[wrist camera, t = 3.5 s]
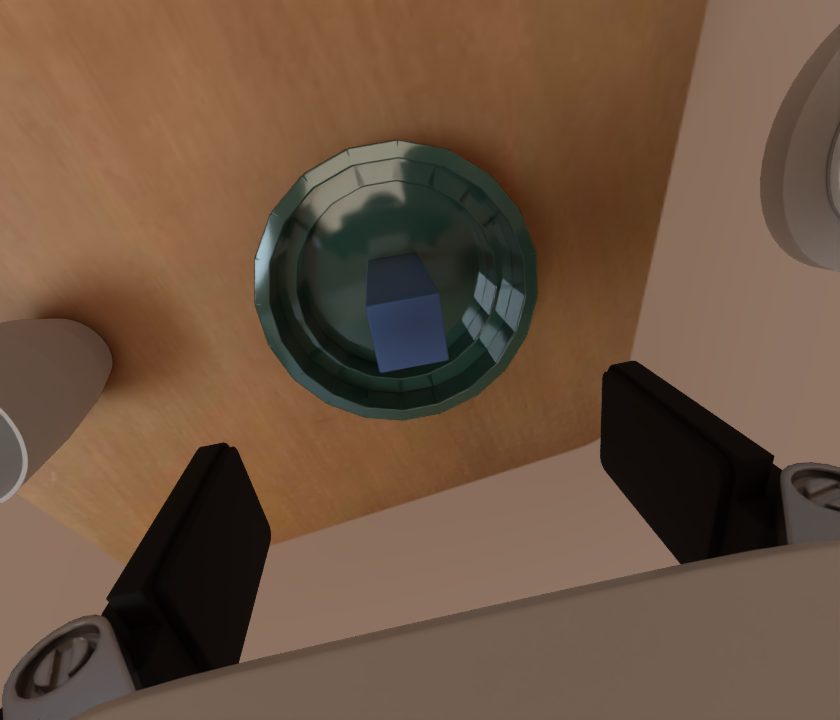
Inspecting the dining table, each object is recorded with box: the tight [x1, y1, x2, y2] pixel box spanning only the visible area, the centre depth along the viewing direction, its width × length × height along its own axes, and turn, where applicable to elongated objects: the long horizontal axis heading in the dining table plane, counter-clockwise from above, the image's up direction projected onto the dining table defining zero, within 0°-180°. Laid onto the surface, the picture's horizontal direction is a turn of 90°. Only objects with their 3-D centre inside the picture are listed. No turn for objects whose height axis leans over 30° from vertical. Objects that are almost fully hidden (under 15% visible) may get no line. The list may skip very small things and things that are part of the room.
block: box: [365, 253, 449, 373], centre depth 23 cm, size 3×3×10 cm
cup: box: [0, 318, 112, 503], centre depth 23 cm, size 8×8×10 cm
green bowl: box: [254, 140, 538, 421], centre depth 25 cm, size 16×16×5 cm
